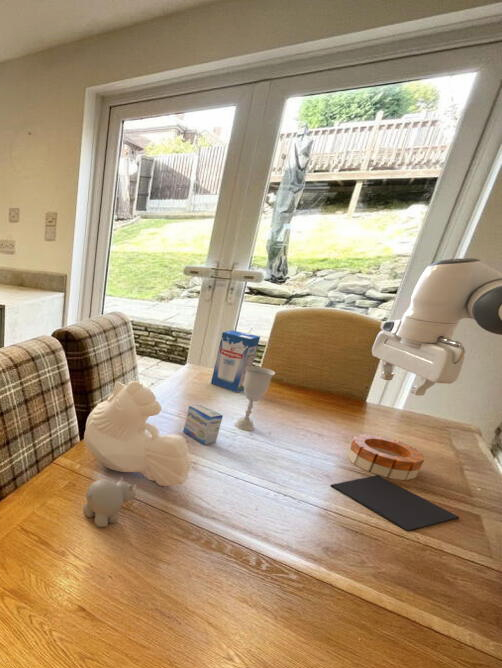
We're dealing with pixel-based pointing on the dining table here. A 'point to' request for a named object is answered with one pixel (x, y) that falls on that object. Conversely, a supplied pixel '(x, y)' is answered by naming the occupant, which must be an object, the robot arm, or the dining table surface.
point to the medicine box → (202, 424)
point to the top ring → (407, 462)
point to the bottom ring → (380, 469)
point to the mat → (394, 502)
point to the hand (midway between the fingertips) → (400, 386)
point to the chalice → (254, 391)
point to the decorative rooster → (135, 437)
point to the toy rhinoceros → (107, 500)
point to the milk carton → (234, 359)
